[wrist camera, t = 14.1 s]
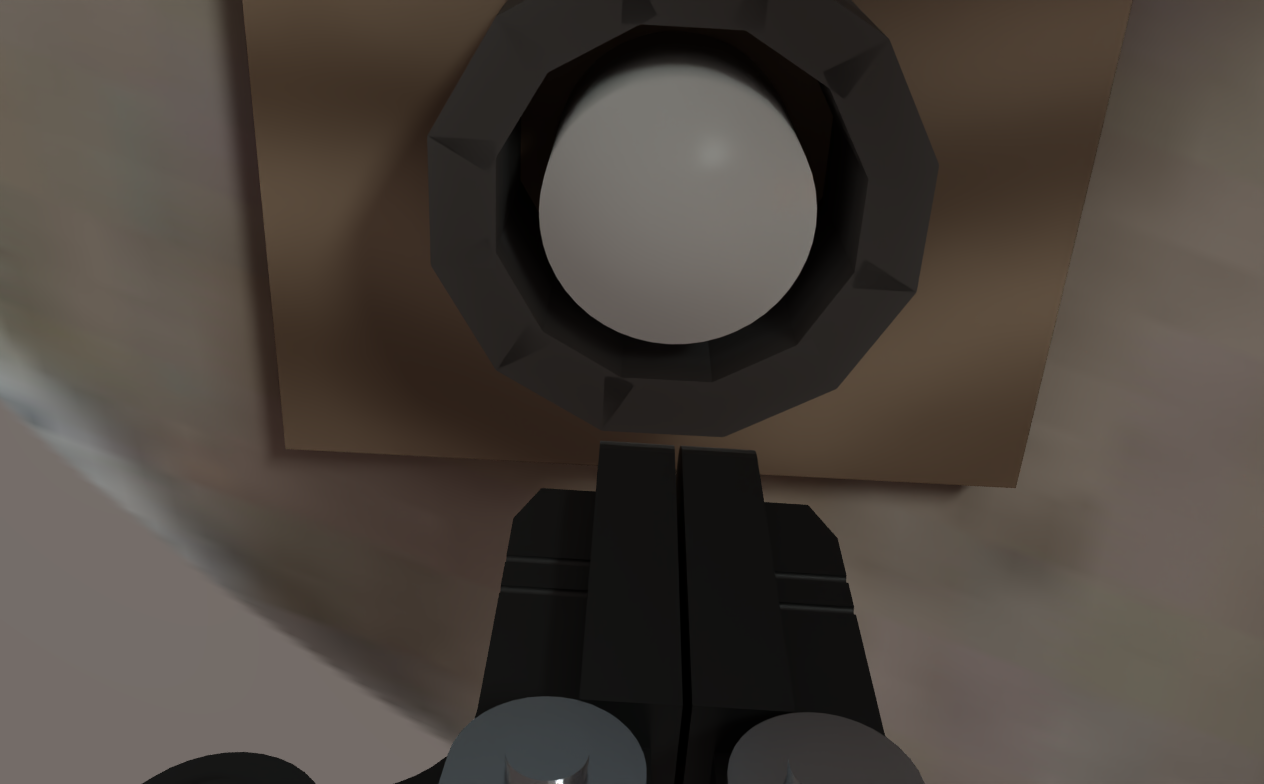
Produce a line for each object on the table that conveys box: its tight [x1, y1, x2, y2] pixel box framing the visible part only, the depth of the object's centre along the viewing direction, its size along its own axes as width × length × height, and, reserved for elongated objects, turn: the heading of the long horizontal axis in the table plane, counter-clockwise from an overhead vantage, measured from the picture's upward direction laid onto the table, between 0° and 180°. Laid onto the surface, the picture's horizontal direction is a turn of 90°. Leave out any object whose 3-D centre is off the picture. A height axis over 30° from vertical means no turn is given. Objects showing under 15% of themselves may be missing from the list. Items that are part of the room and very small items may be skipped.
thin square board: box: [242, 0, 1133, 488], centre depth 24 cm, size 16×18×6 cm
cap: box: [539, 31, 817, 344], centre depth 23 cm, size 5×5×4 cm
